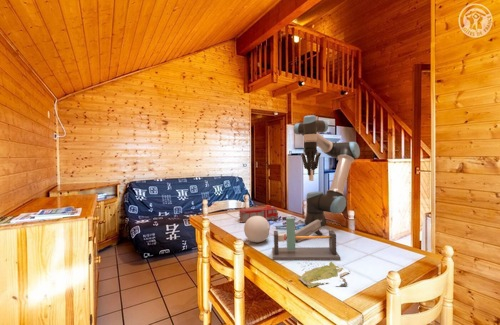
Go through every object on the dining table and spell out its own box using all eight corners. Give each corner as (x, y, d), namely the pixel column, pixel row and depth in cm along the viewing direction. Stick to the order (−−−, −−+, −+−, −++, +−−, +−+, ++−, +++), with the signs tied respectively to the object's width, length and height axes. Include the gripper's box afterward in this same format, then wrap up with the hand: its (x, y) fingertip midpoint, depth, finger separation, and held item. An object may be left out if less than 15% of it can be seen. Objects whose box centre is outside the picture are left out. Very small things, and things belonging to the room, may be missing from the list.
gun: (327, 232, 152) (324, 217, 151) (297, 250, 140) (294, 234, 138) (323, 231, 154) (321, 216, 153) (294, 249, 142) (291, 233, 140)
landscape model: (324, 301, 86) (325, 295, 86) (295, 279, 99) (295, 274, 98) (364, 281, 100) (364, 276, 99) (334, 264, 112) (334, 259, 112)
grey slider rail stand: (333, 250, 127) (333, 228, 127) (340, 260, 115) (340, 236, 115) (272, 250, 130) (271, 229, 129) (272, 260, 118) (272, 236, 118)
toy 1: (279, 220, 187) (278, 207, 187) (241, 224, 181) (240, 210, 181) (275, 217, 197) (274, 204, 197) (239, 220, 192) (238, 207, 191)
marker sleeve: (294, 248, 124) (294, 217, 124) (295, 250, 121) (294, 218, 121) (286, 248, 125) (286, 217, 124) (287, 250, 122) (286, 218, 121)
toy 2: (275, 242, 141) (274, 216, 140) (252, 248, 134) (251, 221, 133) (261, 235, 154) (261, 211, 153) (240, 240, 147) (239, 215, 146)
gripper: (316, 141, 152) (317, 179, 153) (297, 142, 149) (298, 180, 150) (323, 141, 145) (324, 180, 146) (303, 141, 141) (304, 181, 142)
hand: (311, 180), depth 148 cm, fingers closed
